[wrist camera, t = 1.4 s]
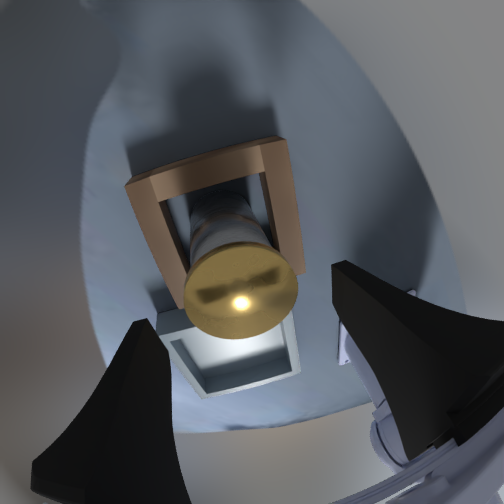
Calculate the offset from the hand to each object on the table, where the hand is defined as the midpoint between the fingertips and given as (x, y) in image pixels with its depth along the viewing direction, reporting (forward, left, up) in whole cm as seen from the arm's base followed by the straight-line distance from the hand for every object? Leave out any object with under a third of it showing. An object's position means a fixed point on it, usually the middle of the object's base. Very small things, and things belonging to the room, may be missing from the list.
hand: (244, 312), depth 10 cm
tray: (+2, +11, -9) cm, 14 cm away
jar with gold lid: (0, 0, -9) cm, 9 cm away
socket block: (0, 0, -9) cm, 9 cm away
